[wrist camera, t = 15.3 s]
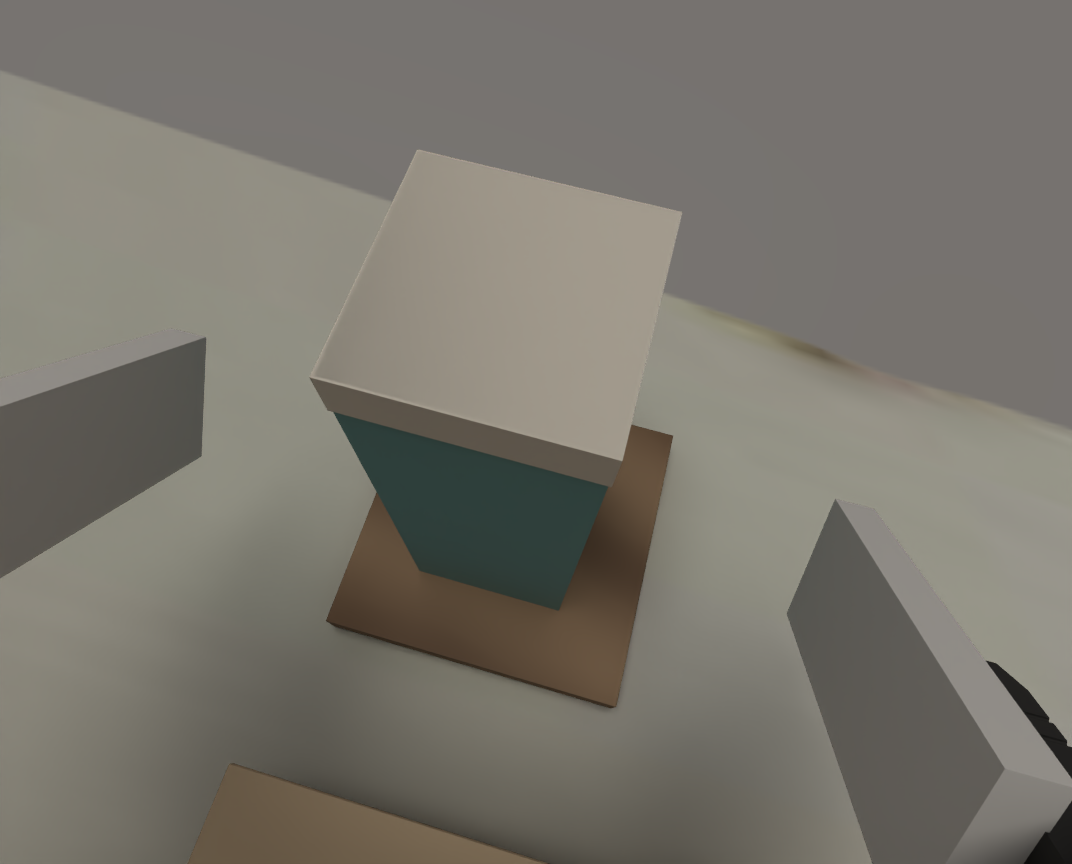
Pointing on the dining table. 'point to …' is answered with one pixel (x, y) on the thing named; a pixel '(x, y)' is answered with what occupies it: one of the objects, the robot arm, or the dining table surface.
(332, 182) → the dining table surface
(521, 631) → the walnut board
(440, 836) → the carton
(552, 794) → the dining table surface
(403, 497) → the teal box
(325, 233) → the dining table surface
